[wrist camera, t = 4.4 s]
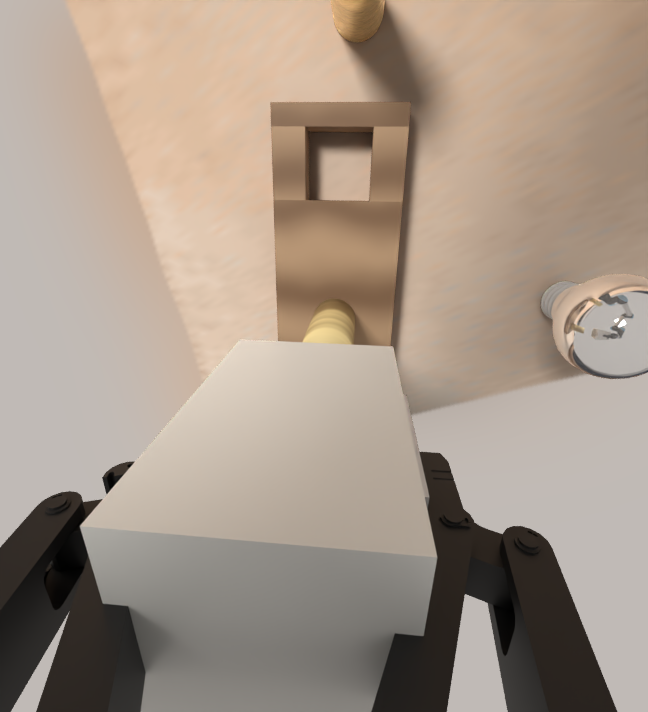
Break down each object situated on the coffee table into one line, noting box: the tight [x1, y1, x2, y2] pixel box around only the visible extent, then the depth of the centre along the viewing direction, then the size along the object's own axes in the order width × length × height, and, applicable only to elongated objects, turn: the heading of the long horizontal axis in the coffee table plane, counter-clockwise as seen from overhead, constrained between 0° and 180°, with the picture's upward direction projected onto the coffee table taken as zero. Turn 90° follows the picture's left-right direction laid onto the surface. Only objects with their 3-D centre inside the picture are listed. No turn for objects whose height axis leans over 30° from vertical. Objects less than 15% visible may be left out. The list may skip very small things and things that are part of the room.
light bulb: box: [541, 274, 648, 379], centre depth 28 cm, size 7×7×12 cm
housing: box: [80, 339, 437, 712], centre depth 14 cm, size 7×7×11 cm
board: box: [270, 102, 411, 346], centre depth 28 cm, size 20×10×12 cm, turn 179°
